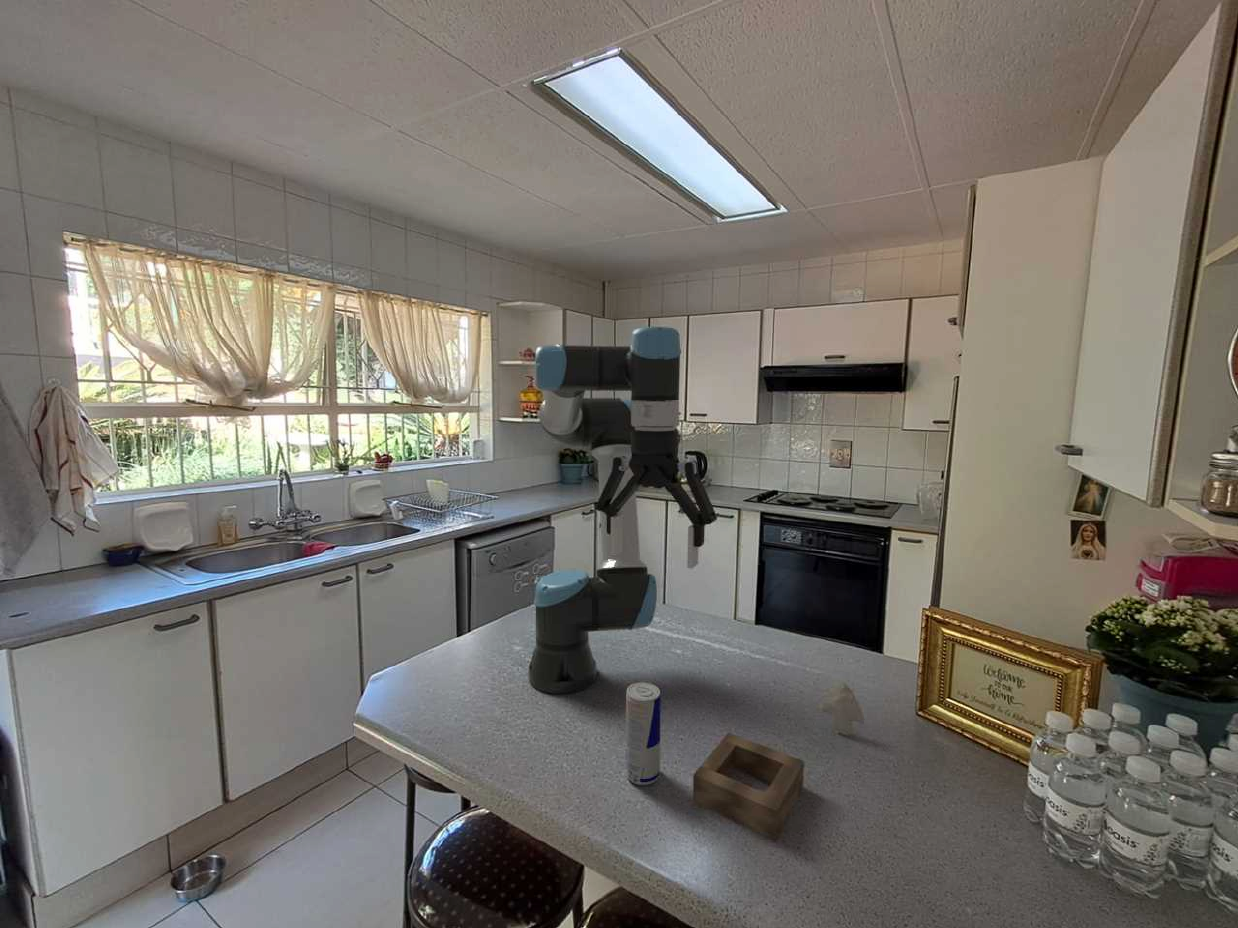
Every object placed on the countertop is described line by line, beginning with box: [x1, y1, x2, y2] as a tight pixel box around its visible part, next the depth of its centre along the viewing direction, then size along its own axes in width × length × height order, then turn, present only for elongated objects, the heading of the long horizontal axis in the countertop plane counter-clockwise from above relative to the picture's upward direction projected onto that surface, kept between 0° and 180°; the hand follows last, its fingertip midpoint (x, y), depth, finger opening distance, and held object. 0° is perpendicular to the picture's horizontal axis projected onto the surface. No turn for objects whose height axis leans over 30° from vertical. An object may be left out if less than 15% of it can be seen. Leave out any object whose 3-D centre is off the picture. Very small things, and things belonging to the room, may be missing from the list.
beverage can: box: [625, 682, 662, 786], centre depth 90 cm, size 6×6×15 cm
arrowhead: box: [819, 680, 865, 737], centre depth 102 cm, size 8×3×10 cm, turn 54°
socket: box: [692, 732, 805, 841], centre depth 86 cm, size 13×13×4 cm
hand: (653, 559), depth 89 cm, fingers open, 13 cm apart
